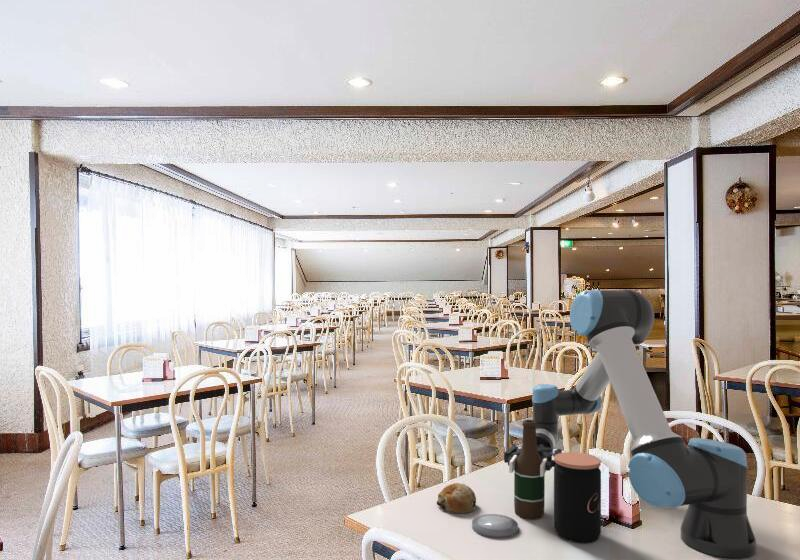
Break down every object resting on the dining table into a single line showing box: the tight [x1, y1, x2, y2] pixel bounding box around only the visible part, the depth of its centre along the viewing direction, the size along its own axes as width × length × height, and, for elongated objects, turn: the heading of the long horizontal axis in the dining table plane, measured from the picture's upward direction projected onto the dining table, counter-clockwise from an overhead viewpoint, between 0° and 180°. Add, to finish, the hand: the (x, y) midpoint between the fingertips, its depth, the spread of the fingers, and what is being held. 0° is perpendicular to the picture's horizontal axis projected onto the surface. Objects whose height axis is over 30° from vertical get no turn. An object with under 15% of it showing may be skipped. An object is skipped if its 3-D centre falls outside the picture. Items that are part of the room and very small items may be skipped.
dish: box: [471, 513, 519, 539], centre depth 140 cm, size 11×11×1 cm
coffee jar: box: [553, 451, 602, 544], centre depth 136 cm, size 11×11×18 cm
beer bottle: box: [513, 419, 546, 521], centre depth 148 cm, size 8×8×24 cm
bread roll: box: [436, 482, 477, 515], centre depth 153 cm, size 10×10×8 cm
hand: (526, 469), depth 144 cm, fingers closed on beer bottle, 7 cm apart
